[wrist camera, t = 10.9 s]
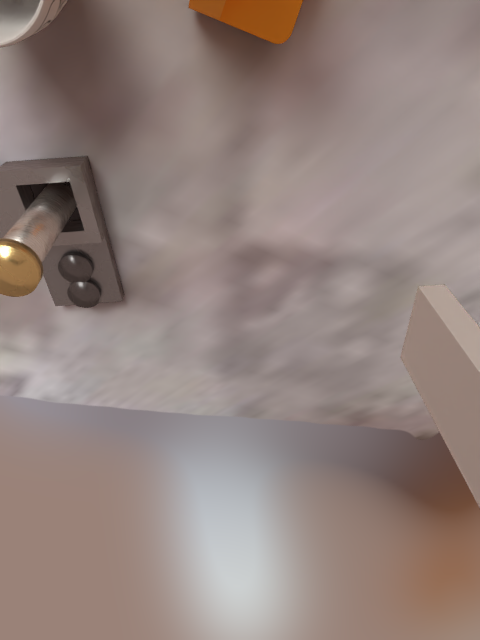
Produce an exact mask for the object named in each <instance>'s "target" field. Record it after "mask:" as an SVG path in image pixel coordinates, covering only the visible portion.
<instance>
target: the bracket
mask: <svg viewBox="0 0 480 640" xmlns="http://www.w3.org/2000/svg"><path fill="white" fill-rule="evenodd" d="M302 2H303V0H190V1H189V8H190V9H193V10H195V11H197V12H200V13H202V14H205V15H207V16H209V17H212V18H214V19H217V20H219V21H221V22H224V23H226V24H229V25H231V26H233V27H236V28H238V29H241V30H243V31H246V32H248V33H250V34H253V35H255V36H258V37H260V38H262V39H265V40H267V41H270V42H272V43H275V44H281V43H283V42H285V41H286V40H288V38H289V37H290V36H291V34H292V31H293V28H294V25H295V22H296V19H297V16H298V14H299V11H300V8H301V5H302Z"/></svg>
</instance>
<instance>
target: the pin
mask: <svg viewBox="0 0 480 640" xmlns="http://www.w3.org/2000/svg"><path fill="white" fill-rule="evenodd" d="M76 207H77V204H76V201H75V197H74V194H73V191H72V188H71V187H70V186H68V185H67V184H65V183H62V182H57V183H50V184H48V185H47V186H46V187H45V188H44V189H43V191H42V192H41V193H40V194H39V195H38V197H37V198H36V199H35V200H34V201H33V203H32V204H31V205H30V206H29V207H28V209H27V210H26V211H25V212H24V213H23V215H22V216H21V217H20V218H19V219H18V220H17V222H16V223H15V224H14V225H13V226H12V228H11V229H10V230H9V231H8V232H7V234H6V235H5V236H4V237H3V238H2V239H0V294H3V295H6V296H12V297H19V296H25V295H27V294H29V293H31V292H32V291H34V290H35V288H36V287H37V285H38V283H39V282H40V280H41V278H42V276H43V265H42V262H43V260H44V259H45V257H46V256H47V254H48V252H49V251H50V249H51V247H52V246H53V244H54V243H55V241H56V239H57V238H58V236H59V234H60V233H61V231H62V230H63V228H64V226H65V225H66V223H67V221H68V220H69V218H70V217H71V215H72V213H73V212H74V210H75V208H76Z"/></svg>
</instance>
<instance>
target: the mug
mask: <svg viewBox="0 0 480 640" xmlns="http://www.w3.org/2000/svg"><path fill="white" fill-rule="evenodd" d="M67 1H68V0H0V47H5V46H9V45H13V44H16V43H18V42H20V41H22V40H24V39H26V38H28V37H30V36H32V35H34V34H36V33H37V32H39V31H41V30H42V29H44V28H45V27H46V26H48V25H49V24H50V23H51V22H52V21H53V20H54V19H55V18H56V17H57V15H58V14H59V13H60V11H61V10H62V8H63V7H64V6H65V4H66V3H67Z"/></svg>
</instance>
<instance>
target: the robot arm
mask: <svg viewBox="0 0 480 640" xmlns="http://www.w3.org/2000/svg"><path fill="white" fill-rule="evenodd" d="M401 359H402V361H403V363H404V365H405V367H406V369H407V371H408V373H409V374H410V376H411V378H412V380H413V382H414V384H415V386H416V388H417V390H418V392H419V393H420V395H421V397H422V399H423V401H424V403H425V405H426V407H427V409H428V411H429V412H430V414H431V416H432V418H433V420H434V422H435V424H436V426H437V428H438V430H439V432H440V433H441V435H442V437H443V439H444V441H445V443H446V445H447V447H448V449H449V451H450V452H451V454H452V456H453V458H454V460H455V462H456V464H457V466H458V468H459V470H460V471H461V473H462V475H463V477H464V479H465V481H466V483H467V485H468V487H469V489H470V491H471V492H472V494H473V496H474V498H475V500H476V502H477V504H478V506H479V508H480V328H479V326H478V325H477V324H476V323H475V321H474V320H473V319H472V318H471V316H470V315H469V314H468V313H467V312H466V310H465V309H464V308H463V307H462V305H461V304H460V303H459V302H458V300H457V299H456V298H455V297H454V295H453V294H452V293H451V292H450V291H449V289H448V288H447V287H446V286H445V285H432V286H418V289H417V293H416V297H415V301H414V305H413V309H412V313H411V317H410V321H409V325H408V329H407V333H406V337H405V341H404V345H403V349H402V353H401Z"/></svg>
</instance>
